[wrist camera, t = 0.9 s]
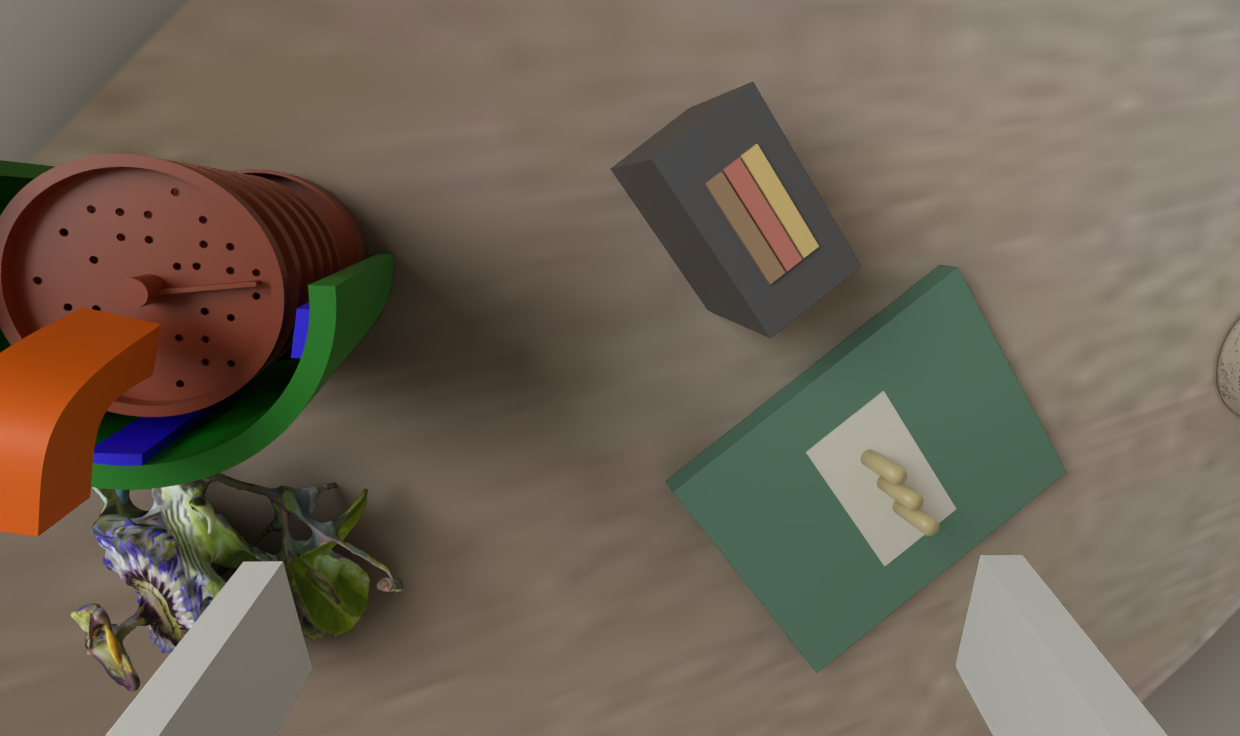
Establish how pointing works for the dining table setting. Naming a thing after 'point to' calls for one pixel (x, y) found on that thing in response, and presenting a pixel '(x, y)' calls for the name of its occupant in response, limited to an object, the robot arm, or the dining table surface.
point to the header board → (873, 468)
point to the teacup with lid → (1230, 370)
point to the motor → (163, 322)
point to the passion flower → (197, 537)
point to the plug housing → (738, 212)
